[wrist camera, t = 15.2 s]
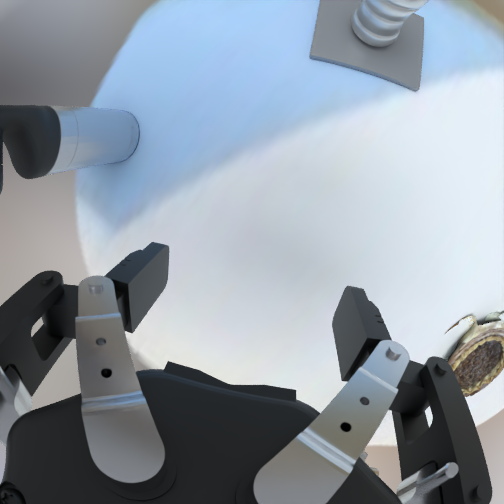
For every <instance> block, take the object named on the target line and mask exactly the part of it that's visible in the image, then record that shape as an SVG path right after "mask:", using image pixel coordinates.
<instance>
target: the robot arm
mask: <svg viewBox="0 0 504 504" xmlns="http://www.w3.org/2000/svg"><path fill="white" fill-rule="evenodd" d="M138 139H139V127H138V123H137V121H136V119H135V117H134V116H133V115H132V114H130V113H129V112H126V111H121V110H112V109H102V108H89V107H72V106H35V105H0V194H1V191H2V186H3V165H1V164H3V158H2V157H3V156H2V155H3V153H2V149H3V142H4V143H5V145H6V147H7V150H8V152H9V155H10V158H11V161H12V164H13V166H14V168H15V170H16V172H17V173H18V174H19V175H20V176H21V177H23V178H25V179H33V178H38V177H42V176H46V175H51V174H55V173H59V172H63V171H68V170H74V169H79V168H85V167H90V166H96V165H102V164H109V163H115V162H121V161H124V160H126V159H127V158H128V157H130V155H131V154H132V153H133V152H134V150H135V148H136V146H137V143H138ZM168 265H169V246H168V245H164V244H159V243H155V242H152V243H150V244H149V245H148V246H147V247H146V248H145V249H143V250H138V251H135V252H133V253H130V254H129V255H128V256H127V257H126V258H125V259H124V260H122V261H121V262H120V263H119V264H118V265H116V266H115V267H114V268H113V269H112V270H111V271H110V272H108V273H107V274H106V275H105V276H91V277H88V278H86V279H84V280H82V281H81V282H80V284H79V286H75V285H67V284H64V283H63V278H62V275H61V274H60V273H59V272H57V271H44V272H41V273H39V274H37V275H36V276H35V277H33V278H32V279H31V280H30V281H29V282H27V283H26V284H25V285H24V286H23V287H21V288H20V289H19V290H18V291H17V292H16V293H15V294H13V295H12V296H11V297H10V298H9V299H8V300H7V301H6V302H4V303H3V304H2V305H1V306H0V442H1V443H2V444H3V445H4V446H6V464H5V471H4V476H3V479H2V482H1V484H0V504H489V503H490V501H491V498H492V486H491V481H490V477H489V472H488V468H487V464H486V460H485V457H484V453H483V449H482V446H481V443H480V439H479V436H478V433H477V430H476V427H475V424H474V421H473V418H472V415H471V413H470V410H469V407H468V405H467V402H466V399H465V397H464V395H463V392H462V390H461V387H460V385H459V383H458V380H457V378H456V376H455V373H454V371H453V369H452V367H451V366H450V365H449V363H448V362H446V361H445V360H444V359H442V358H439V357H430V358H429V359H428V360H427V361H426V363H425V364H424V365H423V364H420V363H417V362H414V361H411V360H410V357H409V353H408V352H407V350H406V349H405V348H404V347H403V346H402V345H401V344H399V343H397V342H395V341H392V340H391V337H390V335H389V332H388V330H387V328H386V325H385V324H384V321H383V318H382V317H381V314H380V312H379V309H378V308H377V307H376V306H375V305H374V304H373V303H372V302H371V301H369V300H368V298H367V296H366V294H365V291H364V289H361V288H357V287H352V286H347V287H346V288H345V290H344V292H343V295H342V297H341V299H340V302H339V304H338V307H337V309H336V311H335V314H334V317H333V323H332V327H333V333H334V338H335V343H336V349H337V355H338V361H339V367H340V373H341V379H342V381H348V383H347V384H346V385H345V386H344V387H343V389H342V390H341V391H340V392H339V393H338V394H337V396H336V397H335V398H334V399H333V400H332V401H331V402H330V404H329V405H328V406H327V407H326V408H325V409H324V410H323V411H322V412H321V414H320V413H319V412H318V411H317V410H315V409H314V408H313V407H311V406H309V405H307V404H305V403H303V402H301V401H299V400H296V390H293V389H286V388H280V387H274V386H268V385H230V384H227V383H225V382H223V381H220V380H218V379H216V378H214V377H212V376H210V375H208V374H206V373H204V372H202V371H200V370H197V369H193V368H189V367H186V366H182V365H179V364H176V363H172V362H169V361H168V362H167V364H166V367H165V369H164V370H162V369H149V370H142V371H137V372H135V369H134V365H133V362H132V359H131V354H130V351H129V347H128V343H127V339H126V335H125V331H127V332H130V333H133V332H134V331H135V329H136V328H137V326H138V325H139V323H140V322H141V321H142V319H143V318H144V316H145V315H146V314H147V312H148V311H149V309H150V308H151V307H152V305H153V304H154V303H155V301H156V300H157V298H158V297H159V296H160V294H161V293H162V292H163V290H164V289H165V287H166V284H167V280H168ZM40 317H42V320H43V323H44V324H43V325H42V326H41V328H40V329H39V330H38V331H37V332H36V333H35V334H34V335H33V337H32V338H31V330H32V327H33V325H34V324H35V323H36V322H37V321H38V319H40ZM73 338H74V339H76V349H77V361H78V372H79V381H80V388H81V393H80V394H78V395H75V396H72V397H70V398H67V399H64V400H61V401H59V402H56V403H53V404H50V405H47V406H44V407H41V408H38V409H35V410H32V411H31V408H32V398H31V397H32V396H33V394H34V393H35V391H36V390H37V388H38V386H39V385H40V384H41V382H42V381H43V379H44V378H45V376H46V375H47V373H48V372H49V370H50V369H51V368H52V366H53V365H54V363H55V362H56V361H57V359H58V358H59V357H60V355H61V354H62V352H63V351H64V350H65V348H66V347H67V346H68V344H69V343H70V342H71V340H72V339H73ZM429 406H430V408H431V411H432V415H433V421H432V424H431V426H430V427H429V426H428V422H427V418H426V415H425V410H426V409H427V408H428V407H429ZM388 410H392V415H393V421H394V427H395V432H396V439H397V445H398V452H399V460H400V468H401V478H402V482H401V483H400V485H399V486H398V489H397V494H395V493H394V492H393V491H392V490H391V489H390V488H389V487H388V486H387V485H386V484H385V483H384V482H383V481H382V480H381V479H380V478H379V477H378V476H377V475H376V473H375V472H374V471H373V470H372V469H371V468H370V467H369V466H368V465H367V464H366V463H365V462H364V461H363V460H362V459H361V458H360V455H361V453H362V452H363V450H364V449H365V447H366V446H367V444H368V443H369V441H370V440H371V438H372V436H373V435H374V433H375V432H376V430H377V428H378V427H379V425H380V423H381V422H382V420H383V418H384V416H385V415H386V413H387V411H388Z"/></svg>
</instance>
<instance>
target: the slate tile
mask: <svg viewBox="0 0 504 504" xmlns="http://www.w3.org/2000/svg"><path fill="white" fill-rule="evenodd" d="M361 2H362V0H320V5H319V10H318V15H317V21H316V26H315V31H314V37H313V42H312V47H311V52H310V58H311V59H316V60H320V61H325V62H329V63H333V64H337V65H341V66H345V67H348V68H352V69H355V70H358V71H362V72H365V73H368V74H371V75H374V76H377V77H380V78H383V79H386V80H388V81H391V82H394V83H396V84H399V85H402V86H404V87H407V88H409V89H411V90H414V91H417V90H419V87H420V79H421V69H422V57H423V39H424V18H423V17H421V16H419V15H416V14H414V13H413V14H411V15H410V16H409V17H408V18H407V19H406V20H405V21H404V23H403V25H402V26H401V28H400V33H399V35H398V37H397V40H396V41H395V42H393V43H392V44H390V45H388V46H385V47H376V46H372V45H369V44H367V43H365V42H364V41H362V40H361V39H360V38H359V37H358V36H357V35H356V34H355V33H354V31H353V28H352V23H351V17H352V14H353V12H354V11H355V10H356V8H357V7H359V5H360V4H361Z"/></svg>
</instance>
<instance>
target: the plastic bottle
mask: <svg viewBox="0 0 504 504" xmlns="http://www.w3.org/2000/svg"><path fill="white" fill-rule="evenodd" d="M427 2H428V0H362V2H361V4H360V5H359V7H357V8H356V10H355V11H354V12H353V14H352V17H351V23H352V28H353V31H354V33H355V34H356V35H357V36H358V37H359V38H360V39H361V40H362V41H364V42H365V43H367V44H369V45H372V46H376V47H385V46H388V45H390V44H392V43H393V42H395V41H396V40H397V37H398V35H399V33H400V28H401V26H402V25H403V23H404V21H405V20H406V19H407V18H408V17H409V16H410V15H411V14H413V13H414V12H416V11H417V10H419V9H420V8H422V7H423V6H424V5H425V4H426V3H427Z"/></svg>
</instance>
